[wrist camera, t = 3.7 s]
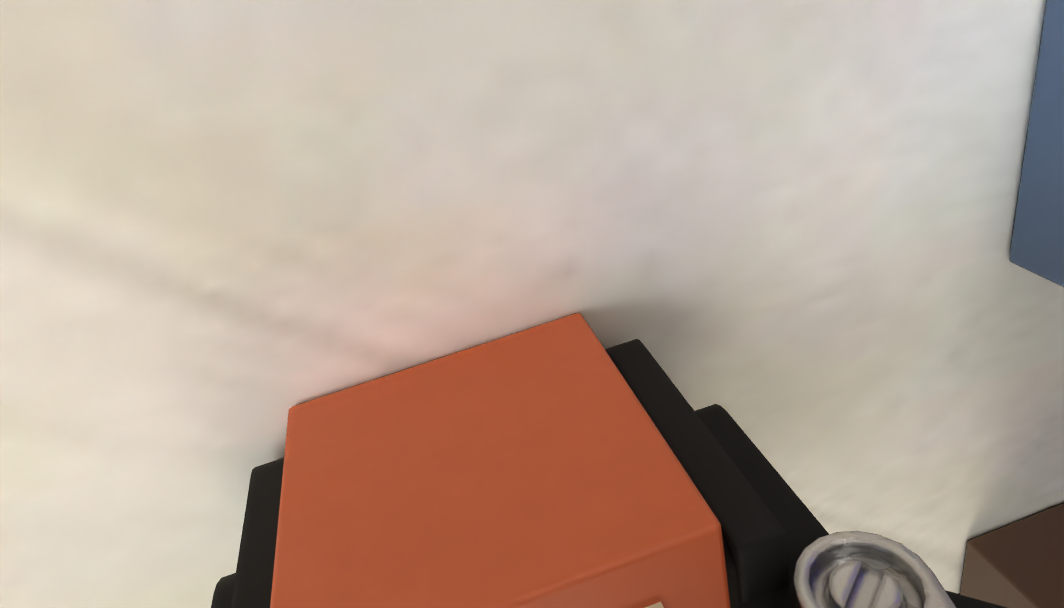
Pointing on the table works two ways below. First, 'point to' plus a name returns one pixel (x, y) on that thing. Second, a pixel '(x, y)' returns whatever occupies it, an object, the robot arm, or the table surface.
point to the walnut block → (1018, 563)
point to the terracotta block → (493, 489)
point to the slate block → (1044, 161)
